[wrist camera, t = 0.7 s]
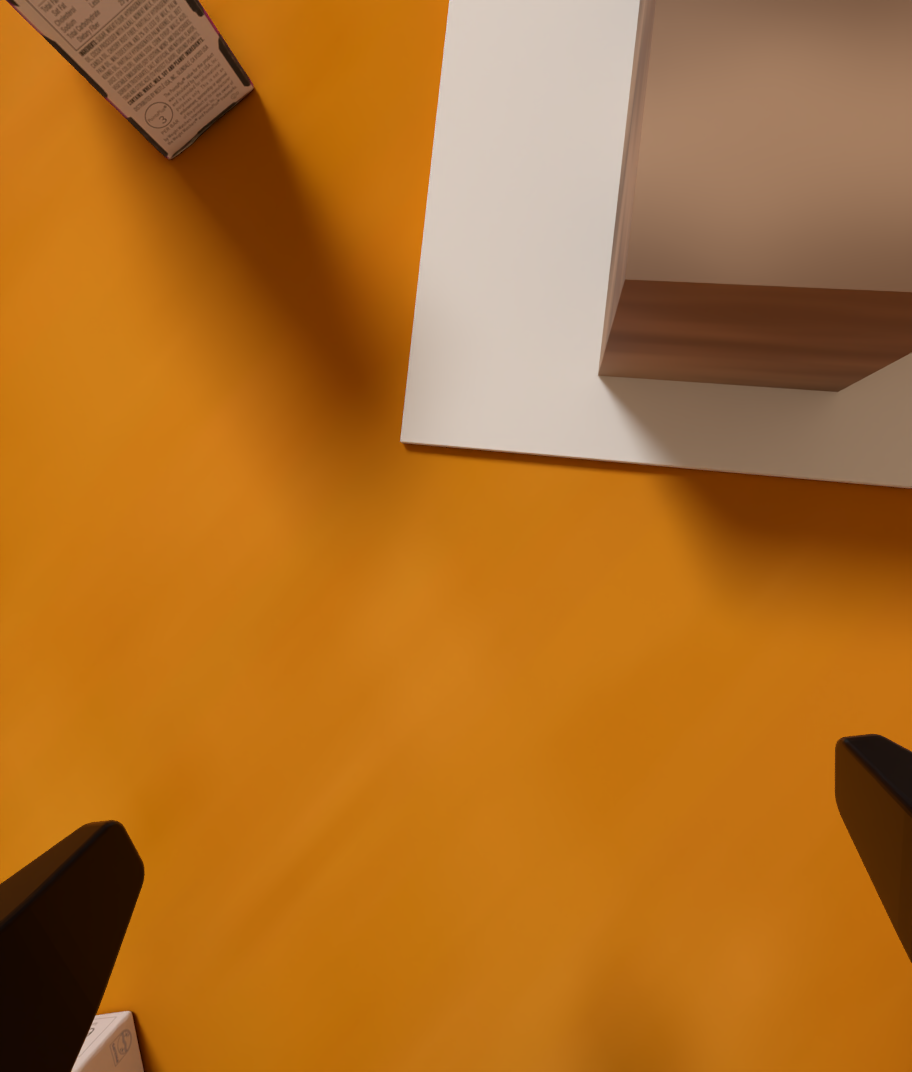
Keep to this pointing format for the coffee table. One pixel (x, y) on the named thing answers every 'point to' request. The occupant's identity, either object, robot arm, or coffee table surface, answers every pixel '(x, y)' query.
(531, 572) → the coffee table surface
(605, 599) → the coffee table surface
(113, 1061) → the light bulb box
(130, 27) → the candy bar box
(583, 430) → the white board
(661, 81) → the walnut slab
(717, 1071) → the coffee table surface
